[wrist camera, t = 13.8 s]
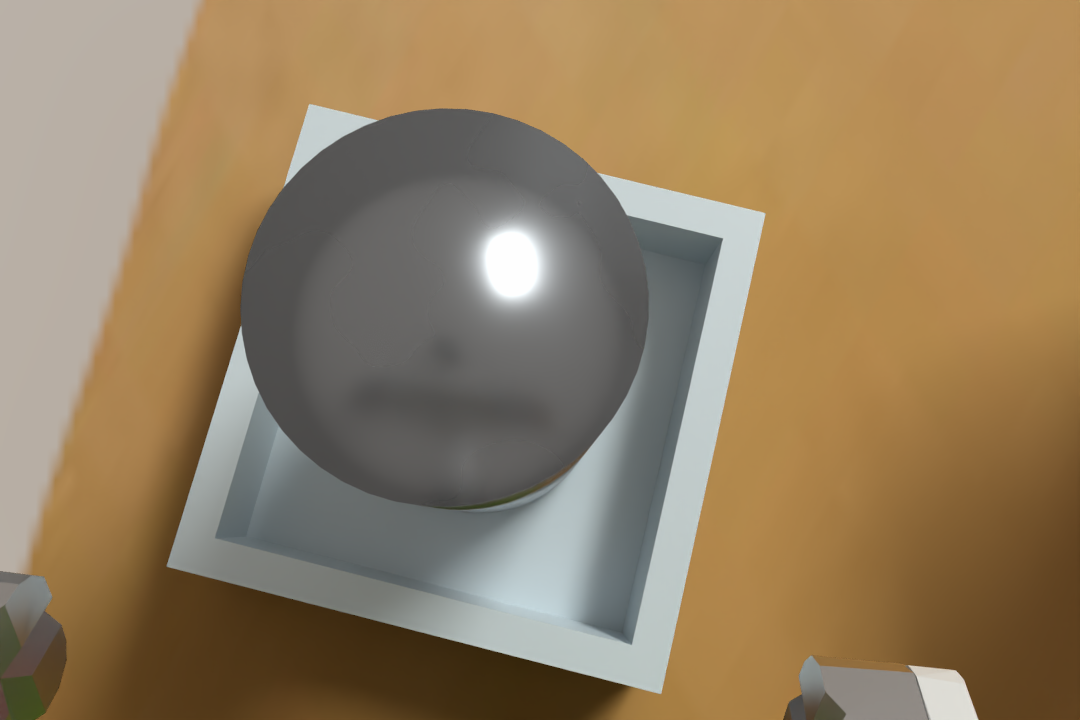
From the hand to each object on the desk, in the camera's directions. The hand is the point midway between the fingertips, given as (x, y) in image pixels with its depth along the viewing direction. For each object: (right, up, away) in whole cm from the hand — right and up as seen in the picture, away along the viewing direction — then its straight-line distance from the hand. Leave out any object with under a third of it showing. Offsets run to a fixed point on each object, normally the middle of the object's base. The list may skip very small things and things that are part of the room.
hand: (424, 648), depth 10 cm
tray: (0, +2, +13) cm, 13 cm away
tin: (0, +2, +12) cm, 13 cm away
